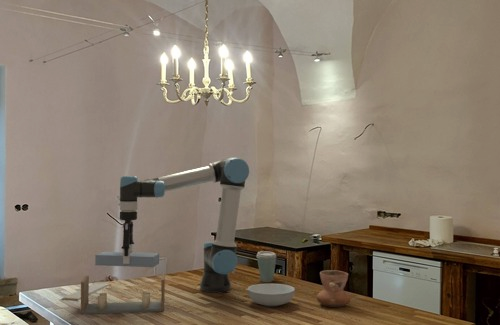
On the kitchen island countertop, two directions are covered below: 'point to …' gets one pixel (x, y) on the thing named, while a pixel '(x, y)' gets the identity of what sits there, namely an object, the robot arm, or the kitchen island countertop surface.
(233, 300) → the kitchen island countertop surface
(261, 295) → the serving bowl
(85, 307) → the peg shelf
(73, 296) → the baseboard
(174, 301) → the kitchen island countertop surface
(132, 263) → the shelf board
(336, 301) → the ceramic jug
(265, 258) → the disposable coffee cup
